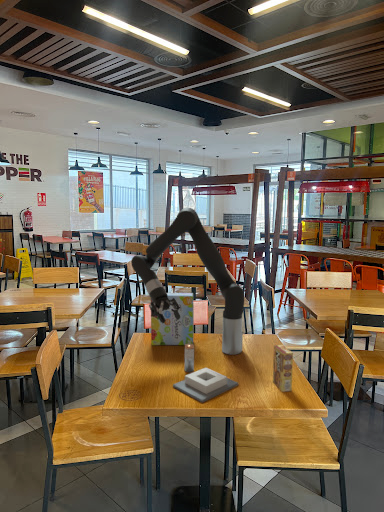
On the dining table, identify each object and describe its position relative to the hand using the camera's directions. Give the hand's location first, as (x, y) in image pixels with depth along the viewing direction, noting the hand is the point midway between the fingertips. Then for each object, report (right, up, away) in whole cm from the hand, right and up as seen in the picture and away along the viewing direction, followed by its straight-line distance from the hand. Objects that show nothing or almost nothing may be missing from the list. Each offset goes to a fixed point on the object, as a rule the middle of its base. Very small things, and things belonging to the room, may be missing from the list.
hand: (171, 320), depth 165 cm
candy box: (+44, -23, -20) cm, 53 cm away
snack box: (-1, -16, +27) cm, 31 cm away
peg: (+8, -20, -6) cm, 22 cm away
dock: (+14, -22, -20) cm, 33 cm away
